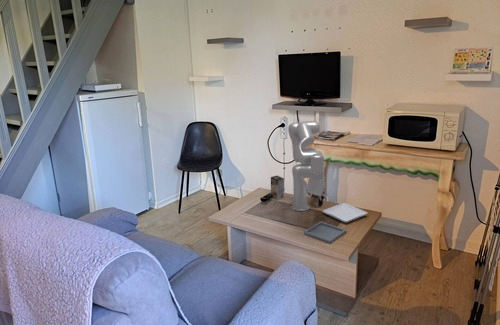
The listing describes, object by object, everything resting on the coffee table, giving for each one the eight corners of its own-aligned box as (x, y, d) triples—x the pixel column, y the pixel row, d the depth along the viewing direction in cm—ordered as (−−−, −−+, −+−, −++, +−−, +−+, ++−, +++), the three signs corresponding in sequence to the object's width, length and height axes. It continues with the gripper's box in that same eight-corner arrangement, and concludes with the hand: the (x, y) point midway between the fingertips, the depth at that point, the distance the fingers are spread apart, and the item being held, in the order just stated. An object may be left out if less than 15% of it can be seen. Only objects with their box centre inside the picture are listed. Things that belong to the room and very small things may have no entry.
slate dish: (303, 234, 215) (303, 231, 214) (320, 224, 227) (320, 221, 226) (330, 243, 202) (330, 241, 202) (346, 232, 215) (346, 229, 214)
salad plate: (345, 226, 224) (345, 220, 223) (321, 214, 241) (321, 210, 240) (368, 217, 235) (368, 212, 234) (343, 207, 252) (343, 202, 251)
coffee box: (270, 196, 275) (270, 176, 271) (277, 194, 278) (276, 175, 274) (277, 200, 268) (277, 179, 263) (284, 198, 271) (284, 178, 266)
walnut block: (310, 206, 212) (310, 196, 211) (315, 203, 216) (315, 194, 214) (317, 208, 209) (317, 198, 207) (322, 205, 212) (322, 196, 211)
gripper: (301, 174, 211) (301, 203, 216) (325, 179, 199) (325, 210, 204) (308, 171, 216) (308, 199, 221) (333, 176, 204) (332, 206, 209)
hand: (316, 204), depth 212 cm, fingers closed on walnut block, 5 cm apart
